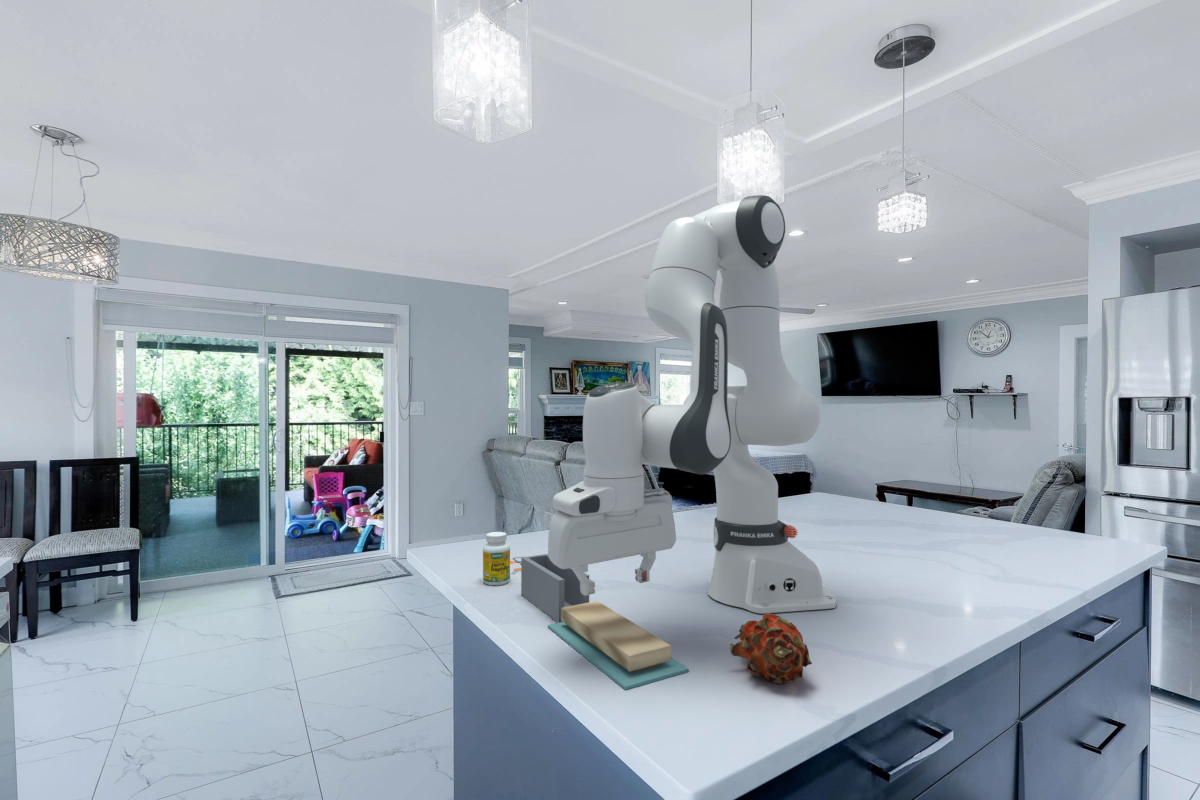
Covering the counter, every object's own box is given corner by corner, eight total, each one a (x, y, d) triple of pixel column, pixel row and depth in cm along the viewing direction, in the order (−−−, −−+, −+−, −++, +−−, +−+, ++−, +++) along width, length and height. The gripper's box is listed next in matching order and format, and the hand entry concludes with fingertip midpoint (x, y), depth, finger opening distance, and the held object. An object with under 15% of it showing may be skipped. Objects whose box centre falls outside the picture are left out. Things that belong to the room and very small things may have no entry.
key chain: (498, 560, 131) (498, 557, 131) (530, 557, 134) (530, 554, 134) (508, 576, 119) (508, 572, 119) (543, 573, 122) (543, 569, 122)
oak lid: (670, 666, 77) (670, 645, 77) (629, 677, 74) (629, 656, 74) (597, 617, 94) (597, 600, 94) (561, 625, 91) (561, 607, 91)
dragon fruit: (798, 714, 69) (743, 683, 80) (840, 662, 72) (781, 639, 83) (757, 659, 68) (707, 636, 79) (801, 609, 71) (747, 593, 82)
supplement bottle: (503, 576, 118) (503, 529, 118) (514, 583, 114) (514, 534, 114) (478, 580, 115) (478, 532, 115) (489, 587, 111) (489, 538, 111)
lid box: (589, 617, 96) (589, 575, 96) (558, 623, 93) (558, 580, 93) (548, 590, 109) (548, 553, 109) (521, 595, 107) (521, 557, 107)
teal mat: (688, 671, 76) (688, 668, 76) (625, 690, 71) (625, 686, 71) (602, 616, 96) (602, 613, 96) (547, 627, 91) (547, 624, 91)
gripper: (659, 483, 92) (660, 569, 92) (542, 498, 82) (544, 594, 82) (683, 489, 87) (685, 580, 87) (561, 505, 76) (563, 608, 77)
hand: (615, 587), depth 84 cm, fingers open, 8 cm apart
